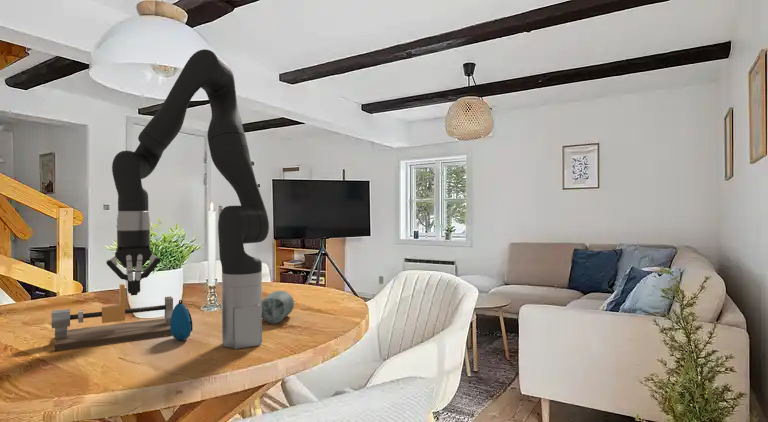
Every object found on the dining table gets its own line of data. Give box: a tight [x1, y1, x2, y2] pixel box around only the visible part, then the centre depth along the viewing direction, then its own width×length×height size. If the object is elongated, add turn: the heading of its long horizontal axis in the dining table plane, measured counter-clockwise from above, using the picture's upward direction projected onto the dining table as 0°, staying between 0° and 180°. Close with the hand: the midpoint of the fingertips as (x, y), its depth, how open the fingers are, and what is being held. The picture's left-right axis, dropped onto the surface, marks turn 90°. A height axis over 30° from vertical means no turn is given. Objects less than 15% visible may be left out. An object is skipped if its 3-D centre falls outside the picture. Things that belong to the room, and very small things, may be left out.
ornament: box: [170, 299, 194, 342], centre depth 116 cm, size 8×5×10 cm, turn 41°
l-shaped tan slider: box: [101, 283, 126, 324], centre depth 119 cm, size 4×5×9 cm
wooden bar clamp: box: [51, 295, 174, 352], centre depth 120 cm, size 14×27×8 cm, turn 123°
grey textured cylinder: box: [262, 290, 295, 325], centre depth 136 cm, size 14×10×10 cm
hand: (134, 294), depth 122 cm, fingers closed
